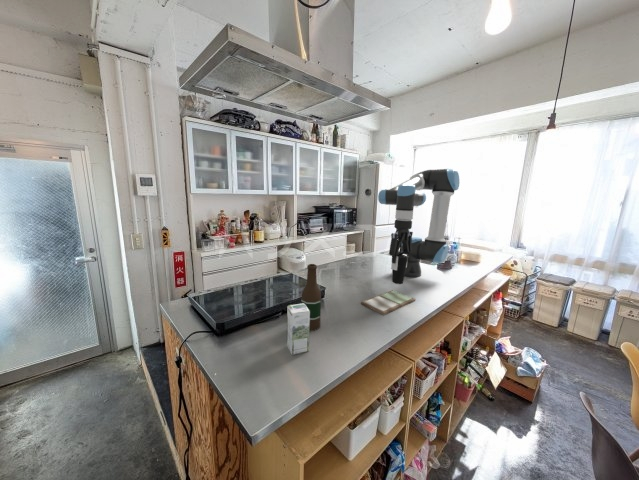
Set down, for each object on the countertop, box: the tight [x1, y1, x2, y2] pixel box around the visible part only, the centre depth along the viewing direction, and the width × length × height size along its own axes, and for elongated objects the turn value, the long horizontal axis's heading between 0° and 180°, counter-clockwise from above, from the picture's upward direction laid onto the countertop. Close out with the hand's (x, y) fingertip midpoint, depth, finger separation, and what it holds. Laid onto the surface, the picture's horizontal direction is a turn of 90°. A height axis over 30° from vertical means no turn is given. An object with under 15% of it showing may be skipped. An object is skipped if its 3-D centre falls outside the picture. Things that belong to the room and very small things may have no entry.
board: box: [360, 289, 416, 316], centre depth 118 cm, size 24×13×1 cm, turn 129°
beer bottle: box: [300, 263, 322, 331], centre depth 93 cm, size 8×8×24 cm
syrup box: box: [286, 303, 310, 356], centre depth 80 cm, size 6×6×14 cm
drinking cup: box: [391, 243, 409, 285], centre depth 118 cm, size 8×8×20 cm
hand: (399, 268), depth 119 cm, fingers closed on drinking cup, 7 cm apart
